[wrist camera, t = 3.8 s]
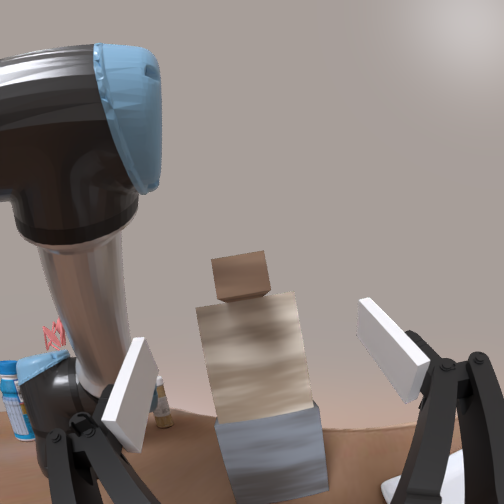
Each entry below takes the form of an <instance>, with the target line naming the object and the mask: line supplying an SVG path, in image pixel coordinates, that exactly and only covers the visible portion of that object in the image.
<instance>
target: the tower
mask: <svg viewBox="0 0 504 504" xmlns="http://www.w3.org/2000/svg"><path fill="white" fill-rule="evenodd" d="M196 313H197V319H198V325H199V331H200V336H201V342H202V347H203V352H204V358H205V363H206V368H207V373H208V378H209V382H210V387H211V392H212V396H213V400H214V404H215V409H216V413H217V419H216V422H215V426H214V427H215V431H216V434H217V438H218V442H219V446H220V449H221V453H222V457H223V460H224V464H225V467H226V470H227V474H228V477H229V480H230V484H231V487H232V490H233V493H234V496H235V499H236V502H237V504H269V503H275V502H281V501H287V500H292V499H296V498H301V497H305V496H310V495H314V494H318V493H321V492H325V491H329V486H328V477H327V467H326V458H325V450H324V441H323V434H322V426H321V418H320V411H319V407H318V406H317V404H316V403H315V402H314V401H313V399H312V392H311V386H310V379H309V373H308V367H307V361H306V355H305V349H304V343H303V337H302V332H301V326H300V320H299V315H298V310H297V304H296V299H295V294H294V291H291V292H286V293H280V294H275V295H270V296H264V297H258V298H253V299H247V300H241V301H235V302H229V303H223V304H217V305H210V306H204V307H197V308H196Z"/></svg>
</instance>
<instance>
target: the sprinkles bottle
mask: <svg viewBox="0 0 504 504" xmlns="http://www.w3.org/2000/svg"><path fill="white" fill-rule="evenodd" d="M156 384H157V393H158V405H157V408H156V409H155V411H153V413H154V416H155V420H156V423H157V426H158V427H160V428H166V427H170V426H172V425H173V421H172V418H171V414H170V409H169V405H168V401H167V397H166V395H165V391H164V387H163V379H162V377H161V376H157V381H156Z"/></svg>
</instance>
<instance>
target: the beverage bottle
mask: <svg viewBox="0 0 504 504" xmlns="http://www.w3.org/2000/svg"><path fill="white" fill-rule="evenodd" d="M17 362H18V361H0V375H1V376H2V379H1V383H0V390H1V391H2V393H3V397H2V398H3V402H4V404H5V407H6V410H7V413H8V416H9V419H10V422H11V425H12V428H13V431H14V434H15V437H16V438H17V439H18V440H21V441H34V440H35V435H34V432H33V429H32V426H31V424H30V421H29V418H28V415H27V412H26V408H25V405H24V402H23V398H22V395H21V391H20V387H19V386H18V378H17V371H16V364H17Z"/></svg>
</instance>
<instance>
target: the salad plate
mask: <svg viewBox="0 0 504 504" xmlns="http://www.w3.org/2000/svg"><path fill="white" fill-rule="evenodd" d="M400 478H401V475H399V476H396V477H394V478H391V479H389V480H387V481H385V482H383V483H382V484H381V491H382V493H383V496H384V498H385V500H386V502H387V504H390V502H391V500H392V498H393V495H394V493H395V491H396V488H397V485H398V483H399V480H400ZM440 496H441V497H442V503H441V504H464V498H465V487H464V463H463V451H462V449H461V450H459V451H457V452H455V453H453V454H451V455H449V459H448V464H447V468H446V472H445V476H444V480H443V484H442V488H441V492H440Z"/></svg>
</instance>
